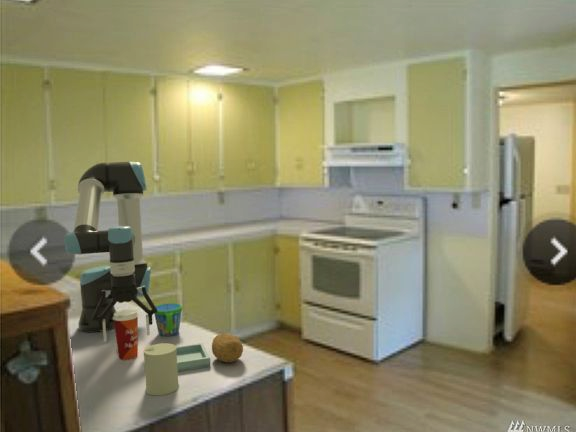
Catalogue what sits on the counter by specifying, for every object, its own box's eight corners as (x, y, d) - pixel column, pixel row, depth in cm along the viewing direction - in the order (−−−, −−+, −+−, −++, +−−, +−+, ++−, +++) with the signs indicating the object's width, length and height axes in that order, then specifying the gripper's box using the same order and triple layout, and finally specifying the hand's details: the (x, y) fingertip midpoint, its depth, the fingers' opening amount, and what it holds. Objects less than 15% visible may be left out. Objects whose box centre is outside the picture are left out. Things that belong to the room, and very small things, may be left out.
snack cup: (183, 339, 184) (181, 311, 183) (153, 341, 182) (151, 314, 181) (183, 325, 199) (182, 300, 198) (155, 328, 197) (154, 302, 196)
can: (148, 382, 149) (146, 342, 147) (180, 380, 150) (178, 340, 148) (142, 396, 140) (140, 354, 138) (176, 394, 140) (174, 352, 139)
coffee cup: (133, 362, 164) (130, 316, 162) (110, 360, 166) (107, 316, 164) (145, 352, 172) (143, 309, 171) (123, 351, 174) (120, 308, 172)
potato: (233, 350, 172) (232, 327, 171) (250, 364, 160) (249, 339, 159) (205, 356, 167) (204, 332, 166) (221, 371, 155) (219, 345, 154)
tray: (163, 356, 168) (163, 348, 167) (203, 350, 172) (202, 342, 172) (167, 373, 155) (167, 364, 154) (210, 366, 159) (210, 357, 158)
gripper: (81, 280, 158) (85, 346, 160) (163, 272, 166) (166, 335, 168) (82, 275, 165) (87, 338, 167) (161, 268, 173) (164, 328, 175)
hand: (127, 337), depth 168 cm, fingers open, 13 cm apart
